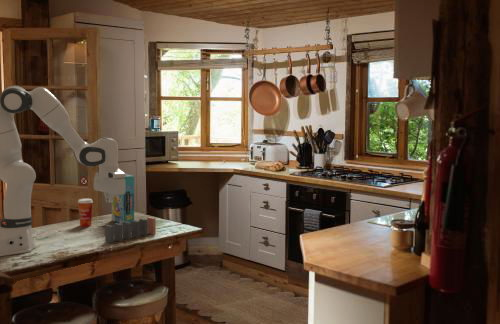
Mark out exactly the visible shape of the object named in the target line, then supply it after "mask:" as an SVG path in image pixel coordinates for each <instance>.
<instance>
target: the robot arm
mask: <svg viewBox="0 0 500 324" xmlns="http://www.w3.org/2000/svg"><path fill="white" fill-rule="evenodd" d="M28 110H32V111H33V112H34V114H36V116H38V118H40V120H41V121H42V122H43V123H44V124H45V125H46V126H47V127H48V128H50V129H51V130H53V131H54V132H56V133H57V134H59V135H60V136H61V137H62V138H63V140H64V141H65V142H66V143H67V144H68V146H69V147H70V148H71V150H72V153H73V155H74V159H75V160H76V162H77V163H79V164H81V165H82V166H84V167H85V166H86V167H89V168H91V167H95V166H98V170H96V172H95V175H94V179H93V190H94V191H97V192H101V193H103V195H104V198H105V202H106V203H109V204H110V203H111V204H112V202H113V197H114V194H116V195H123V194H124V193H125V189H126V184H125V179H124V178H125V176H126V175H125V173H126V172H124V171H123V170H122V169H120V168H119V166H120V165H119V162H118V161H119V156H120V155H119V145H118V142H117V140H116V139H113V138H110V137H100V138H99V139H97V140H96V141H94V142H92V143H88V142H87V141H85V140H83V138H82V137H81V136H80V135H79V133H78V132H77V131H76V130H75V129H74V127H73V126H72V123H71V119H70V115H69V113H68V111H67V110H66V107H64V105H63V104H62V103H61V101H60V100H59V99H58V98H57V97H56V96H55V95H54V93H52V92H50V90H49V89H48V88H46V87H43V86H39V87H36V88H33V89H32V90H30V91H27V89H25V87H24V86H21V85H18V84H13V85H12V84H11V85H9V86H6V88H4V89H3V90H2V92H1V94H0V180H1V181H2V182H3V183H5V184H6V189H5V195H4V198H3V202H2V203H3V218H2V219H0V257H4V256H10V255H18V254H23V253H24V254H25V253H30V252H32V250H34V249H36V247H37V245H36V243H35V239H34V234H33V216H32V209H31V208H32V206H31V203H32V193H33V188H34V187H33V186H34V182H35V181H36V178H37V174H36V170H35V169H34V168H33V166H31V165H30V164H28V163H26V162H24V159H23V156H22V155H23V154H22V146H23V145H22V141H21V138H20V134H19V131H18V128H17V124H16V121H15V114H19V113H22V112H25V111H28Z"/></svg>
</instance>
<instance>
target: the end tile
mask: <svg viewBox="0 0 500 324" xmlns="http://www.w3.org/2000/svg"><path fill="white" fill-rule="evenodd" d="M147 220H148V235H149V234H150V235H157V234H156V231H157V230H156V224H157V223H156V217H153V216H152V217H151V216H148V217H147Z"/></svg>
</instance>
